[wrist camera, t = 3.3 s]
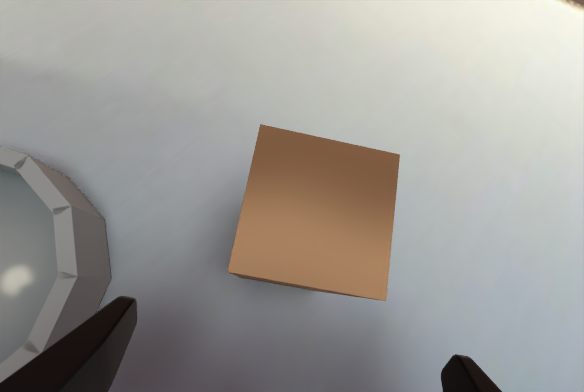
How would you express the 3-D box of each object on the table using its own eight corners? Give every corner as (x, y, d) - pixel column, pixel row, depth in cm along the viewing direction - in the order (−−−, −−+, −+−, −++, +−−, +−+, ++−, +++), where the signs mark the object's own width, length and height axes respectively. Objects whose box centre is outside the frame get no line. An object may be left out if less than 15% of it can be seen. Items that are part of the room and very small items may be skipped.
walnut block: (314, 290, 20) (385, 300, 9) (239, 277, 20) (227, 271, 9) (324, 218, 21) (400, 154, 10) (255, 204, 21) (260, 124, 10)
